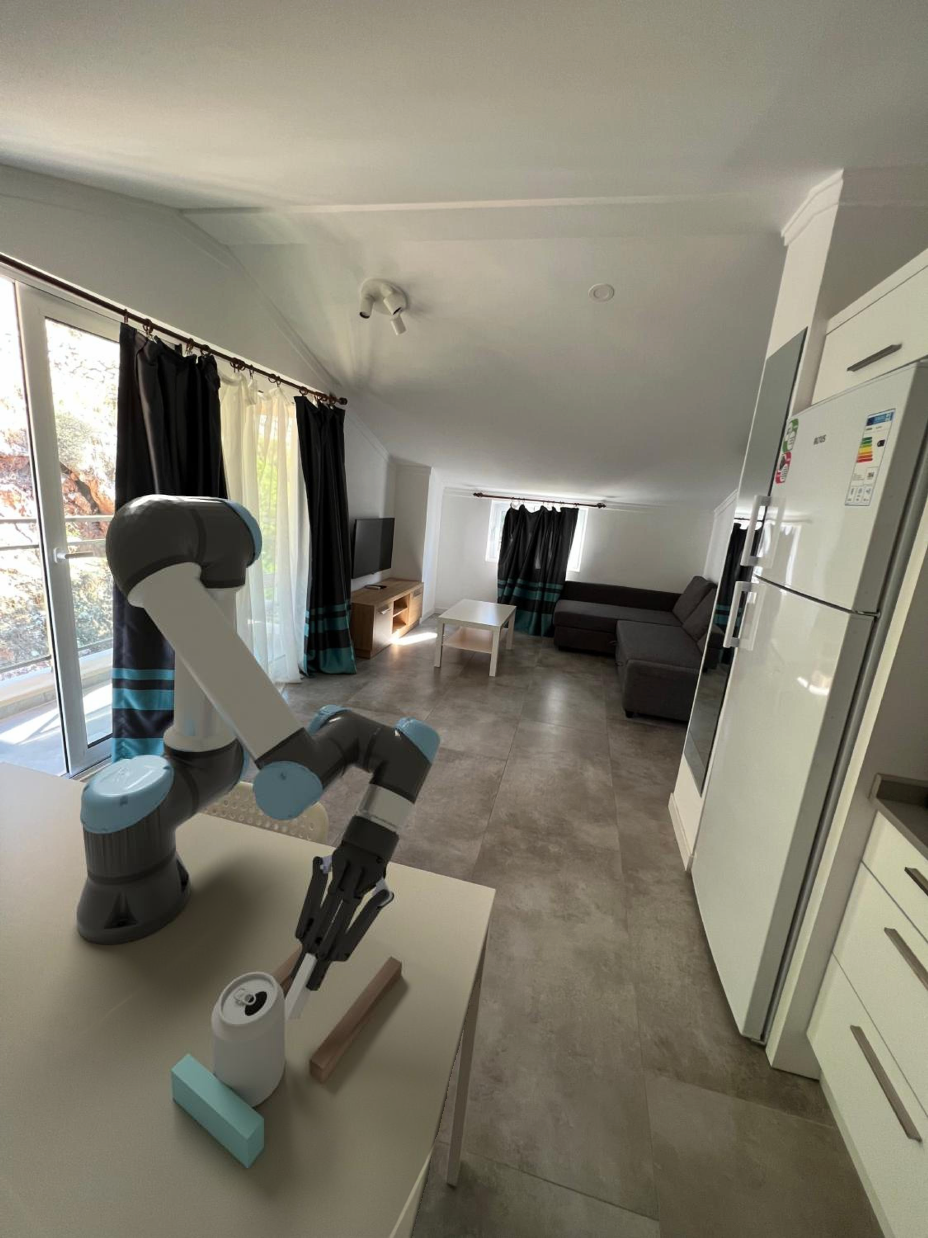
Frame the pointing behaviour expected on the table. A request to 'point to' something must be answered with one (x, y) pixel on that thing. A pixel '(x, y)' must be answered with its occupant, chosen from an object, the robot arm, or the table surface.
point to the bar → (218, 1110)
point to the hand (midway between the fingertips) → (289, 1015)
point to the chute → (351, 1020)
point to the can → (250, 1036)
